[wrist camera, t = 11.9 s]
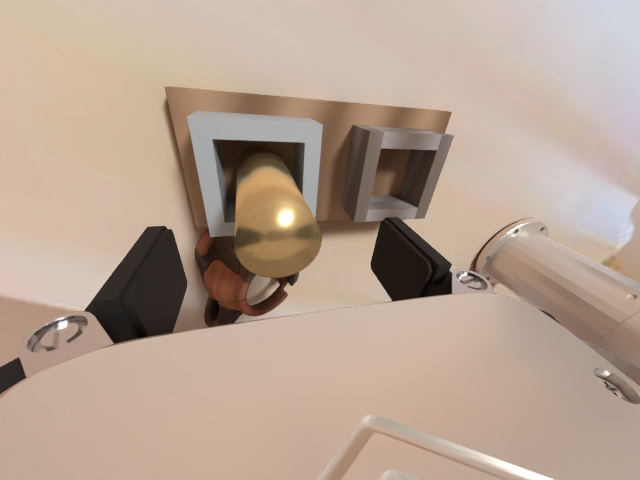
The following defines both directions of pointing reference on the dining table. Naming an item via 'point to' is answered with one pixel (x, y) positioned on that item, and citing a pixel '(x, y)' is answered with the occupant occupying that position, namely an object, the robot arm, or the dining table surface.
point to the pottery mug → (232, 288)
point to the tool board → (332, 152)
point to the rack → (252, 128)
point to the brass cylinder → (272, 217)
